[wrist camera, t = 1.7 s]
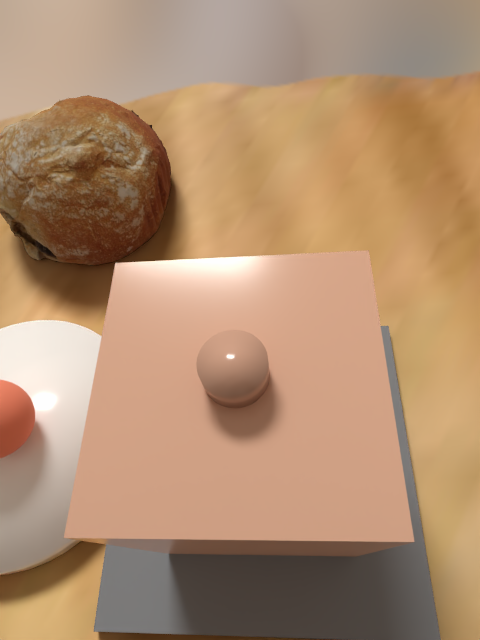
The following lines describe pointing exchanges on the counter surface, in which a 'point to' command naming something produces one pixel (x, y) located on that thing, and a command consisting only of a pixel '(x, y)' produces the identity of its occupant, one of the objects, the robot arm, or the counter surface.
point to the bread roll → (83, 181)
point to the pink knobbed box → (242, 412)
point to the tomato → (14, 417)
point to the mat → (278, 585)
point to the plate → (44, 437)
